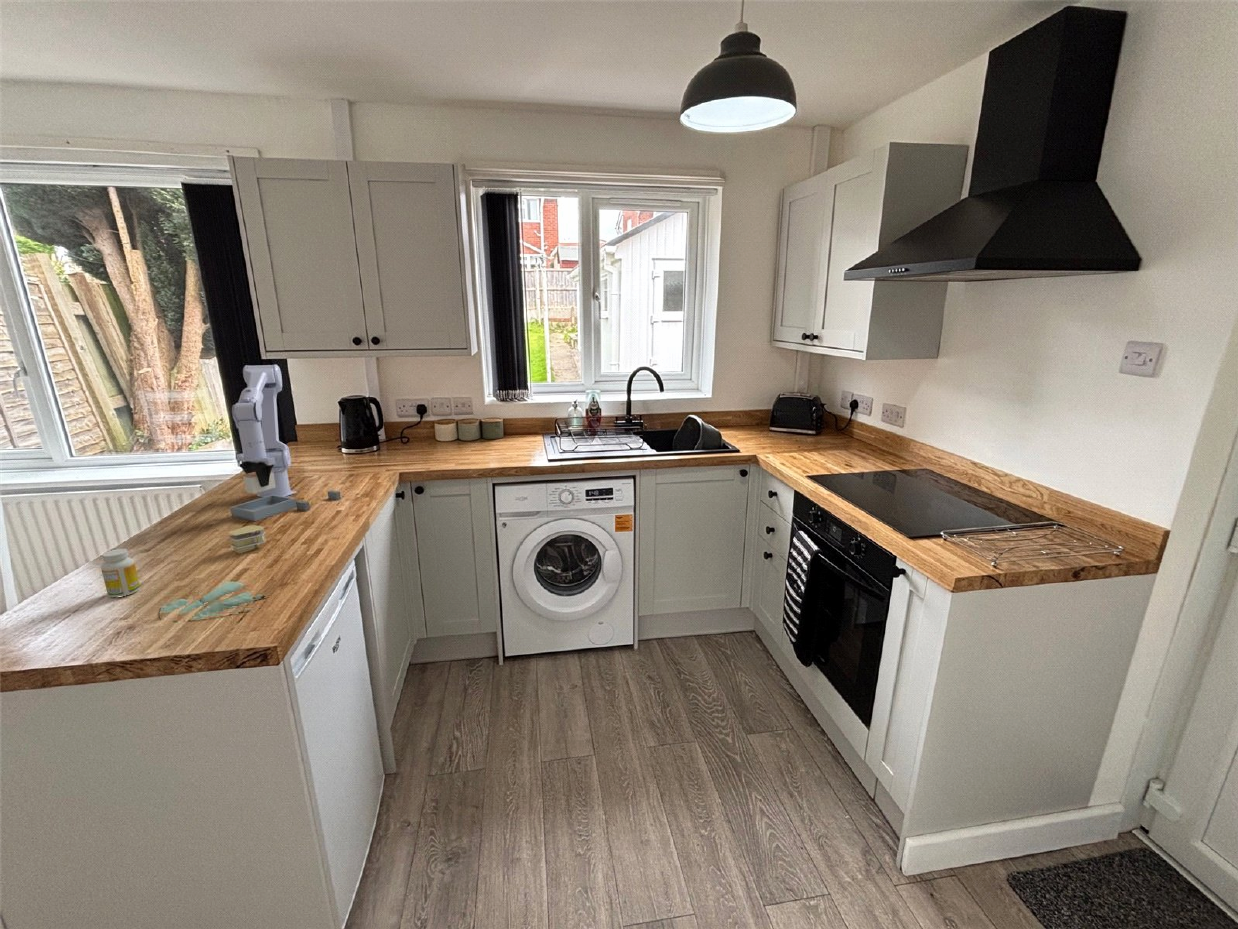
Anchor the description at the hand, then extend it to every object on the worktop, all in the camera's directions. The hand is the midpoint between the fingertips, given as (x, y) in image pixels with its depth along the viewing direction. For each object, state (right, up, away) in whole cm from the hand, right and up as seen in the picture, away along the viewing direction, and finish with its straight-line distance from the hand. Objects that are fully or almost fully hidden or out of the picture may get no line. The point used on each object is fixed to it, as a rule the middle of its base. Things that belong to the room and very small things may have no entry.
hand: (260, 485), depth 167 cm
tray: (0, -8, +2) cm, 9 cm away
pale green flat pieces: (+26, -24, -51) cm, 62 cm away
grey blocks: (+13, -6, +9) cm, 17 cm away
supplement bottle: (+2, -22, -48) cm, 53 cm away
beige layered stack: (+14, -16, -25) cm, 32 cm away
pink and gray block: (0, -1, 0) cm, 1 cm away
